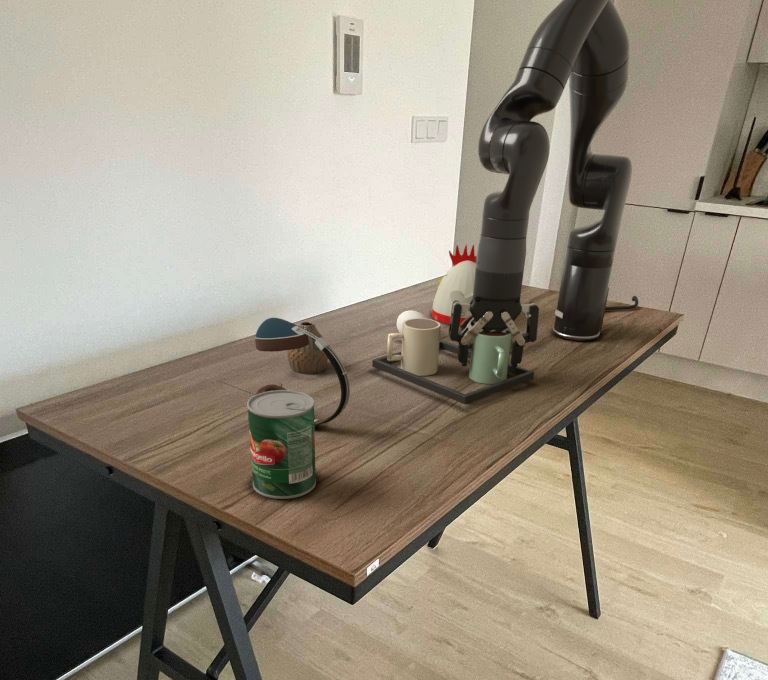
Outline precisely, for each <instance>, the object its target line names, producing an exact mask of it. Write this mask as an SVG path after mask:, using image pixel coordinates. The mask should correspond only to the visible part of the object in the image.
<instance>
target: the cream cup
mask: <svg viewBox="0 0 768 680" xmlns="http://www.w3.org/2000/svg"><path fill="white" fill-rule="evenodd" d="M441 327H442V325H441V322H440V321H437V320H436V319H430V318H427V319H423V318H415V319H408V320H405V321H404V322H403V326H402V333H399V332H390V333H388V334H387V347H386V356H387V360H388V361H396V360H400V369H403V370H405V371H408V372H410V373H413V374H415V375H418V376H420V377H427V376H432V375H435V374H436V373H438V370H439V356H440V355H439V354H440V349H439V343H440V341H441V340H440V339H441ZM396 339H401V351H400V352H401V355H393V354H394V353H393V351H394V350H393V349H394V340H396ZM396 362H397V361H396Z"/></svg>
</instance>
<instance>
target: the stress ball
mask: <svg viewBox="0 0 768 680" xmlns="http://www.w3.org/2000/svg"><path fill="white" fill-rule="evenodd" d="M415 318H423V319H428V318H427V317H426V316H425V315H424V314H423V313H421V312H419V311H417V310H412V309H410V310H405V311H403V312H401V313H400V314H399V315H398V317H397V319H396V328H397V331H398V333H402V326H403V322H404V321H405V320H408V319H415Z"/></svg>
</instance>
